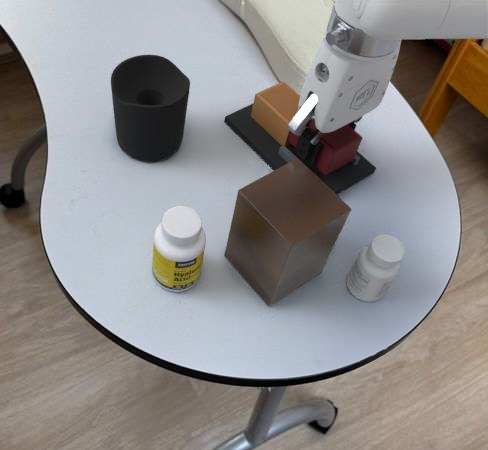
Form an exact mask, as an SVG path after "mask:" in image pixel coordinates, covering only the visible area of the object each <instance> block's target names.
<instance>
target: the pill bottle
mask: <svg viewBox="0 0 488 450" xmlns="http://www.w3.org/2000/svg"><path fill="white" fill-rule="evenodd" d="M404 257H405V247H404V245H403V243H402V242H401V241H400V240H399V239H398V238H397V237H395V236H393V235H390V234H378V235H376V236H375V237H374V238H373V239H372V241H371V242H370V243H369V244H367V245H366V246H364V247H363V248H362V249H361V250H360V252H359V254H358V255H357V257H356V259H355V261H354V263H353V265H352V266H351V268H350V271H348V274H347V276H346V286H347V289H348V291H349V292H350V294H351V295H352V296H354V297H355V298H356V299H358V300H360V301H364V302H375V301H379V300H380V299H381V298H382V297H384V295H385V293H386V292H387V290H388V289H389V287H390V286H391V284H392V283H393V281H394V280H395V278H396V277H397V275H398V273H399V272H400V269H401V262H402V260H403V258H404Z"/></svg>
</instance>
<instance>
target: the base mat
mask: <svg viewBox="0 0 488 450" xmlns="http://www.w3.org/2000/svg"><path fill="white" fill-rule="evenodd" d="M252 108H253V103H251V104H248V105H246V106H243V107H242V108H240V109H238V110H236V111H234V112H231V113H230V114H227V115H225V116H224V124H226V125H227V126H228V127H229V128H230V129H231V130H232V131H233V132H234V133H235V134H236V135H237V136H238V137H239V138H240V139H241V140H242V141H243V142H244V143H245V144H246V145H247V146H248V147H249V148H250V149H251V150H252V151H254V153H255V154H256V155H258V157H259V158H260V159H261V160H263V161H264V162H265V163H266V164H267V165H268V166H269V167H270V169H272V171H274V170H276V169H278V168H280V167H282V166H284V165H286V164H287V163H289V162H291V161H293V160H295V159H297V158H298V159H299V160H300V161H301V162H302V163H304V164H305V165H306V166H307V167H308V168H309V169H310V170H311V171H312V172H313V173H314V174H315V175H316V176H317V177H318V178H319V179H320V180H322V181H323V182H324V183H325V184H326V185H327V186H328V187H329V188H330V189H331V190H332V191H333V192H334V193H335V194H336V195H337V196H338V195H340V194H341V193H343V192H345V191H346V190H348V189H349V188H351V187H353V186H354V185H356V184H358V183H359V182H361V181H363V180H364V179H366V178H368V177H370V176H371V175H373V174H374V173H376V169H377V167H376V166H375V165H373V163H372V162H370V161H369V160H368V159H367V158H366V157H365V156H363V154H361V153H360V152H359V151H358V150H357V152H356V155H355V157H354V159H353V160H352V161H350V162H348V163H346V164H345V165H343V166H341V167H339V168H338V169H336V170H334V171H332V172H331V173H329V174H327V175H324V174H323V173H322V172H321V171H320V170H319V169H318V168H317V167H316V166H314V165H313V166H310V165H308V164H307V163H306V162H305V161H304V160H303V159H302V158H301V157H299V155H298V154H297V153H296V152H295V147H294V146H293V145H292V144H291V145H289V146H287V147H285V146H282V145H281V144H279V143H278V142H277V141H276V140H275V139H274V138H273V137H272V136H271V135H270V134H269V133H268V132H267V131H266V130H265V129H264V128H263V127H262V126H260V125H259V124H258V123H257V122H256V121H255V120H254V119H253V118H252V117H251V113H252Z"/></svg>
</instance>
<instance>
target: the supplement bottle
mask: <svg viewBox="0 0 488 450" xmlns="http://www.w3.org/2000/svg"><path fill="white" fill-rule="evenodd" d="M206 243H207V236H206V231H205V230H204V228H203V220H202V217H201V215H200V214H199V213H198V211H197V210H195V209H194V208H192V207H190V206H187V205H176V206H173V207H171V208H169V209H167V210H166V211H165V212H164V214H163V216H162V219H161V222H160V223H159V224H158V225H157V227H156V229H155V231H154V234H153V247H152V266H151V269H152V270H151V271H152V277H153V279H154V281H155V282H156V283H157V284H158V286H160V287H161V288H162V289H164V290H166V291H168V292H174V293H180V292H181V293H182V292H185V291H187V290H190V289H191V288H193V287H194V286H195V285H196V284H197V282H198V281H199V278H200V276H201V271H202V267H203V262H204V261H203V260H204V255H205V249H206Z"/></svg>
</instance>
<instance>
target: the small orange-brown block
mask: <svg viewBox="0 0 488 450" xmlns="http://www.w3.org/2000/svg"><path fill="white" fill-rule="evenodd" d="M300 96H301V94H299V92H297V91H296V90H295V89H294V88H292V87H291V86H290V85H289V84H288V83H287V82H285V81H284V80H282V81H280V82H278V83H275V84H274V85H272V86H270V87H267V88H265V89H263V90H261V91H259V92H256V93H255V94H254V99H253V103H252V104H253V108H252V113H251V117H252V118H253V119H254V120H255V121H256V122H257V123H258V124H259V125H260V126H262V127H263V128H264V129H265V130H266V131H267V132H268V133H269V134H270V135H271V136H272V137H273V138H274V139H275V140H276V141H277V142H278V143H279V144H281V145H282V146H285V147H287V146H289V145H291V143H290V142H289V141H288V140H289V137H290V133H291V131H290V130H289V129H288V128H287V125H288V124H289V122H290V121H291V120H292V119H293V117H294V116H295V115H296V113H297V112H298V105H299V100H300Z"/></svg>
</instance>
